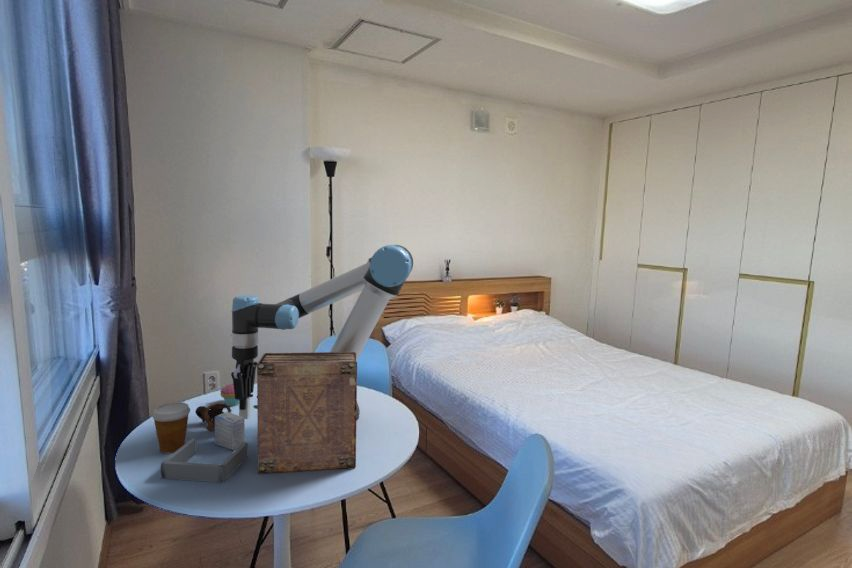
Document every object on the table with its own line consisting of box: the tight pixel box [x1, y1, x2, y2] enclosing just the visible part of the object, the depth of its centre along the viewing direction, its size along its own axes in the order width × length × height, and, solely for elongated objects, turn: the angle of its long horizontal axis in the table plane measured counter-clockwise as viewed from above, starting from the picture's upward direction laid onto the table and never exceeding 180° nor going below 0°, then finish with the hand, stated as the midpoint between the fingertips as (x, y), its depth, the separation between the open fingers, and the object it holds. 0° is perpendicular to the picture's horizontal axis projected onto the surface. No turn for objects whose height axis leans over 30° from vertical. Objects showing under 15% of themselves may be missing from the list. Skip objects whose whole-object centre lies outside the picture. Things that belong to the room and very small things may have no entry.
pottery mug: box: [195, 402, 233, 432], centre depth 142 cm, size 12×10×8 cm
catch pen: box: [160, 438, 248, 483], centre depth 117 cm, size 16×13×4 cm
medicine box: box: [214, 411, 246, 451], centre depth 129 cm, size 8×4×9 cm, turn 61°
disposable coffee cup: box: [151, 401, 191, 454], centre depth 126 cm, size 10×10×12 cm
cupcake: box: [220, 383, 239, 407], centre depth 160 cm, size 9×8×12 cm
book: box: [256, 351, 358, 475], centre depth 120 cm, size 25×9×30 cm, turn 100°
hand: (244, 417), depth 139 cm, fingers closed
